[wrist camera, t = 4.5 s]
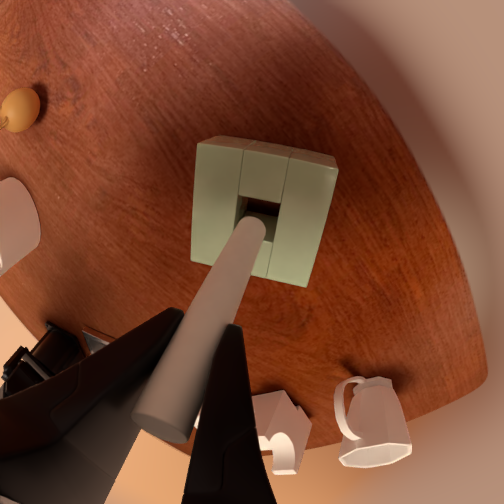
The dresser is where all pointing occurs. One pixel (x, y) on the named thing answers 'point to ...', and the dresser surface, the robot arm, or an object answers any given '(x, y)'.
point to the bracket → (280, 430)
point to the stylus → (198, 340)
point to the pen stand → (265, 188)
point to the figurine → (19, 110)
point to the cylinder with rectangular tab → (16, 223)
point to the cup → (371, 424)
